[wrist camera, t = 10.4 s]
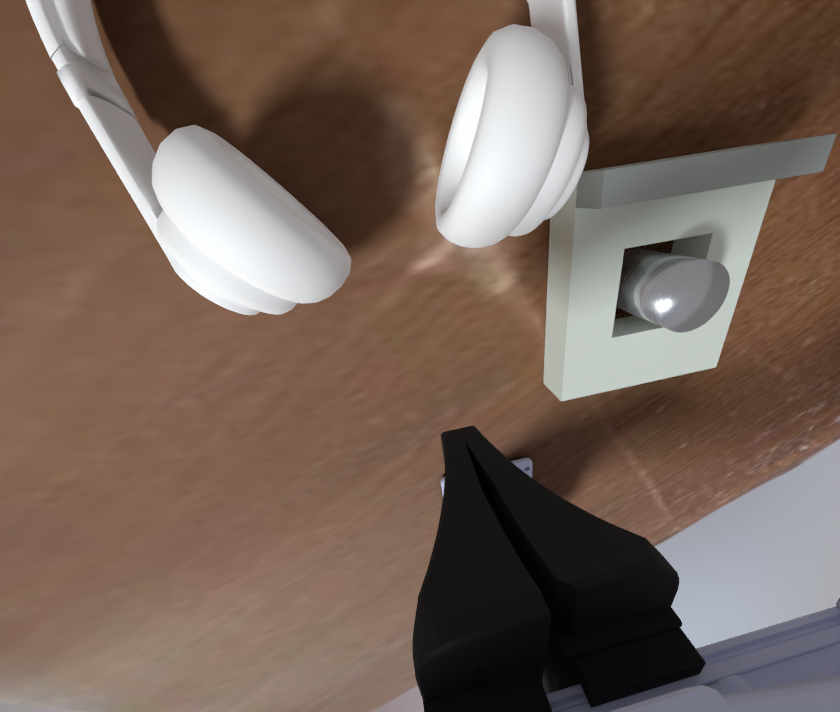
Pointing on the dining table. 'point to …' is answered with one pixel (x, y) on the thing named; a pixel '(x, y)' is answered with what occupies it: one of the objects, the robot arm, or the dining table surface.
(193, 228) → the headphones
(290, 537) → the dining table surface
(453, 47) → the dining table surface
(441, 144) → the dining table surface
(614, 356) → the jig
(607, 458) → the dining table surface
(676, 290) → the peg
